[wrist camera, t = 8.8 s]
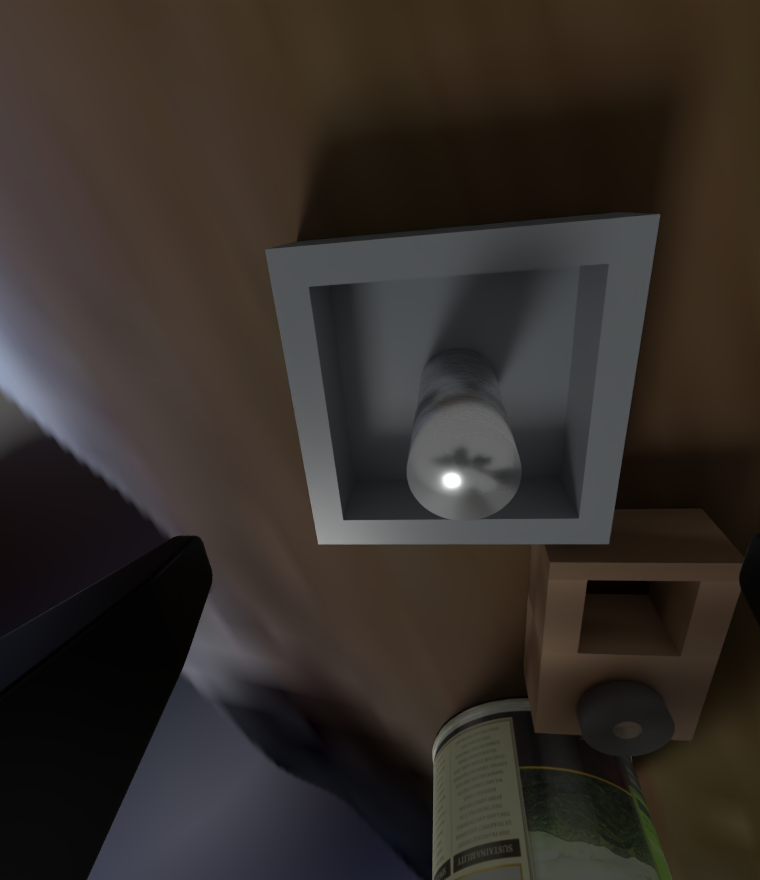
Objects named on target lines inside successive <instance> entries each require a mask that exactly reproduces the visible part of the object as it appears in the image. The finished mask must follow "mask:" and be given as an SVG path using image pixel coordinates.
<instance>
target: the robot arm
mask: <svg viewBox="0 0 760 880" xmlns="http://www.w3.org/2000/svg"><path fill="white" fill-rule="evenodd" d="M211 584H212V569H211V566H210V563H209V560H208V556H207V553H206V550H205V547H204V544H203V541H202V540H201V538H200V537H198V536H175V537H173V538H171V539H170V540H168V541H166V542H165V543H163V544H161V545H159V546H158V547H156V548H154V549H153V550H151V551H149V552H147V553H146V554H144V555H143V556H141V557H139V558H137V559H135V560H134V561H132V562H130V563H129V564H127V565H125V566H123V567H122V568H120V569H119V570H117V571H115V572H113V573H112V574H110V575H108V576H106V577H105V578H103V579H101V580H100V581H98V582H96V583H94V584H93V585H91V586H90V587H88V588H86V589H84V590H82V591H81V592H79V593H77V594H76V595H74V596H72V597H70V598H69V599H67V600H65V601H64V602H62V603H60V604H59V605H57V606H55V607H53V608H52V609H50V610H48V611H46V612H45V613H43V614H41V615H40V616H38V617H36V618H34V619H33V620H31V621H29V622H28V623H26V624H24V625H22V626H21V627H19V628H17V629H16V630H14V631H12V632H11V633H9V634H7V635H6V636H4V637H2V638H0V880H87V878H88V876H89V874H90V872H91V870H92V867H93V865H94V863H95V861H96V859H97V856H98V854H99V852H100V850H101V847H102V845H103V843H104V841H105V839H106V836H107V834H108V832H109V830H110V828H111V825H112V823H113V821H114V819H115V817H116V814H117V812H118V810H119V808H120V806H121V803H122V801H123V799H124V797H125V794H126V792H127V790H128V788H129V786H130V784H131V781H132V779H133V777H134V774H135V772H136V770H137V768H138V766H139V764H140V761H141V759H142V757H143V755H144V753H145V750H146V748H147V746H148V744H149V742H150V739H151V737H152V735H153V733H154V730H155V728H156V726H157V724H158V722H159V719H160V717H161V715H162V713H163V711H164V709H165V706H166V704H167V702H168V699H169V697H170V695H171V693H172V691H173V689H174V687H175V684H176V682H177V680H178V678H179V675H180V673H181V671H182V668H183V666H184V663H185V661H186V658H187V655H188V653H189V650H190V647H191V644H192V641H193V638H194V635H195V632H196V629H197V626H198V623H199V620H200V617H201V614H202V611H203V608H204V605H205V602H206V599H207V596H208V593H209V590H210V587H211ZM739 584H740V588H741V591H742V593H743V595H744V597H745V599H746V601H747V603H748V605H749V607H750V610H751V612H752V614H753V616H754V618H755V620H756V622H757V624H758V626H759V628H760V533H758V534H756V535H754V536H753V537H752V538H751V540H750V542H749V545H748V548H747V551H746V554H745V557H744V561H743V564H742V567H741V570H740V574H739Z"/></svg>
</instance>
